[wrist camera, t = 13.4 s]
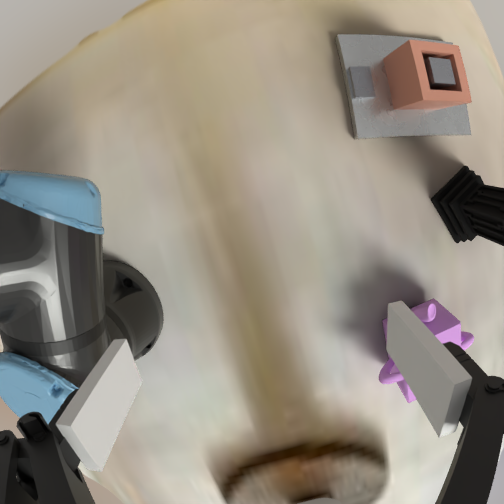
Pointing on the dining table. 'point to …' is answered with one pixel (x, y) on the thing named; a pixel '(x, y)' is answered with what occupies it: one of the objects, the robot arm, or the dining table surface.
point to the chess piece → (471, 208)
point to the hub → (424, 76)
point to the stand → (379, 97)
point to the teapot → (440, 326)
